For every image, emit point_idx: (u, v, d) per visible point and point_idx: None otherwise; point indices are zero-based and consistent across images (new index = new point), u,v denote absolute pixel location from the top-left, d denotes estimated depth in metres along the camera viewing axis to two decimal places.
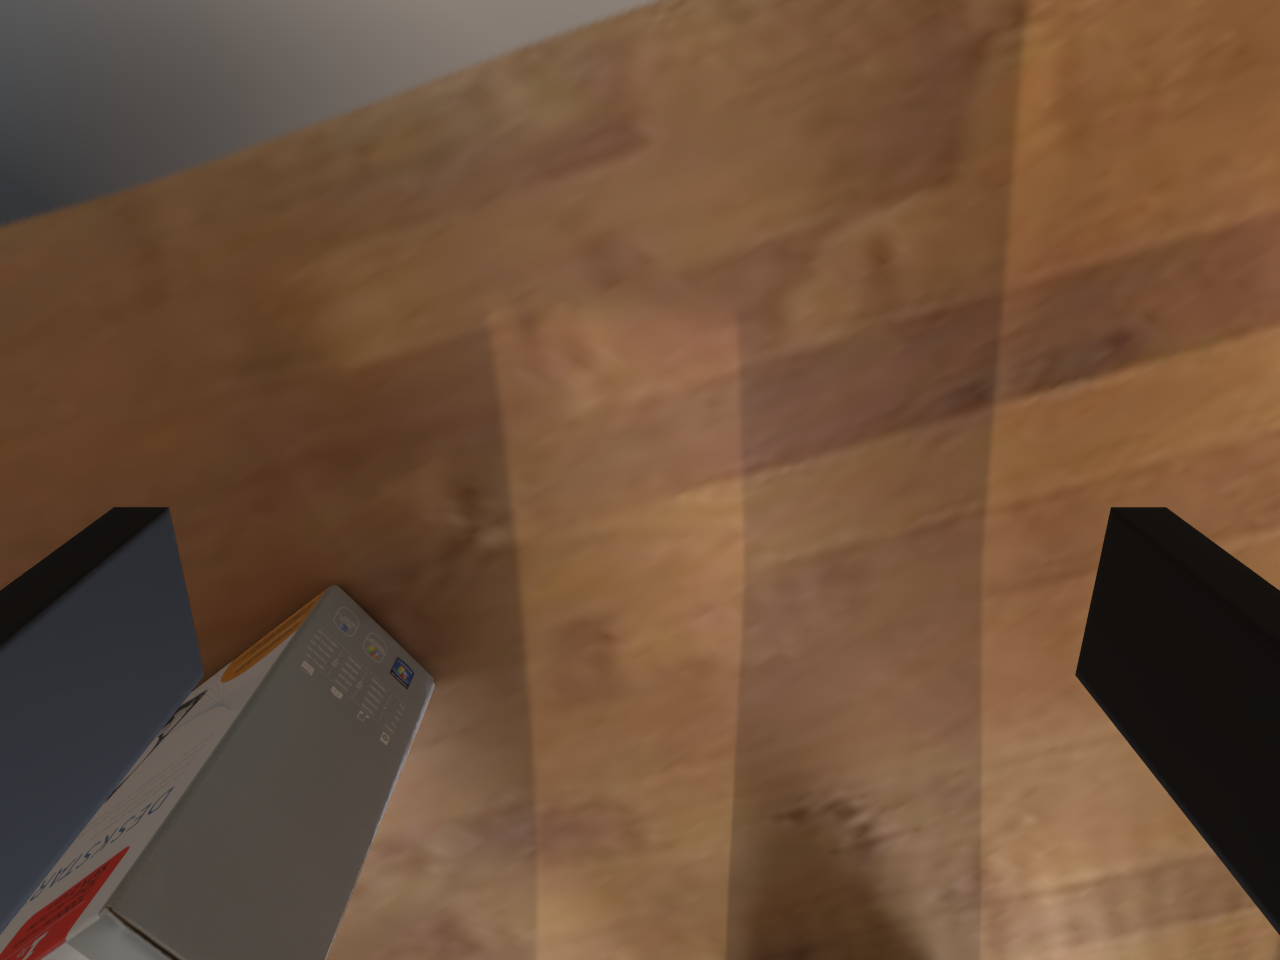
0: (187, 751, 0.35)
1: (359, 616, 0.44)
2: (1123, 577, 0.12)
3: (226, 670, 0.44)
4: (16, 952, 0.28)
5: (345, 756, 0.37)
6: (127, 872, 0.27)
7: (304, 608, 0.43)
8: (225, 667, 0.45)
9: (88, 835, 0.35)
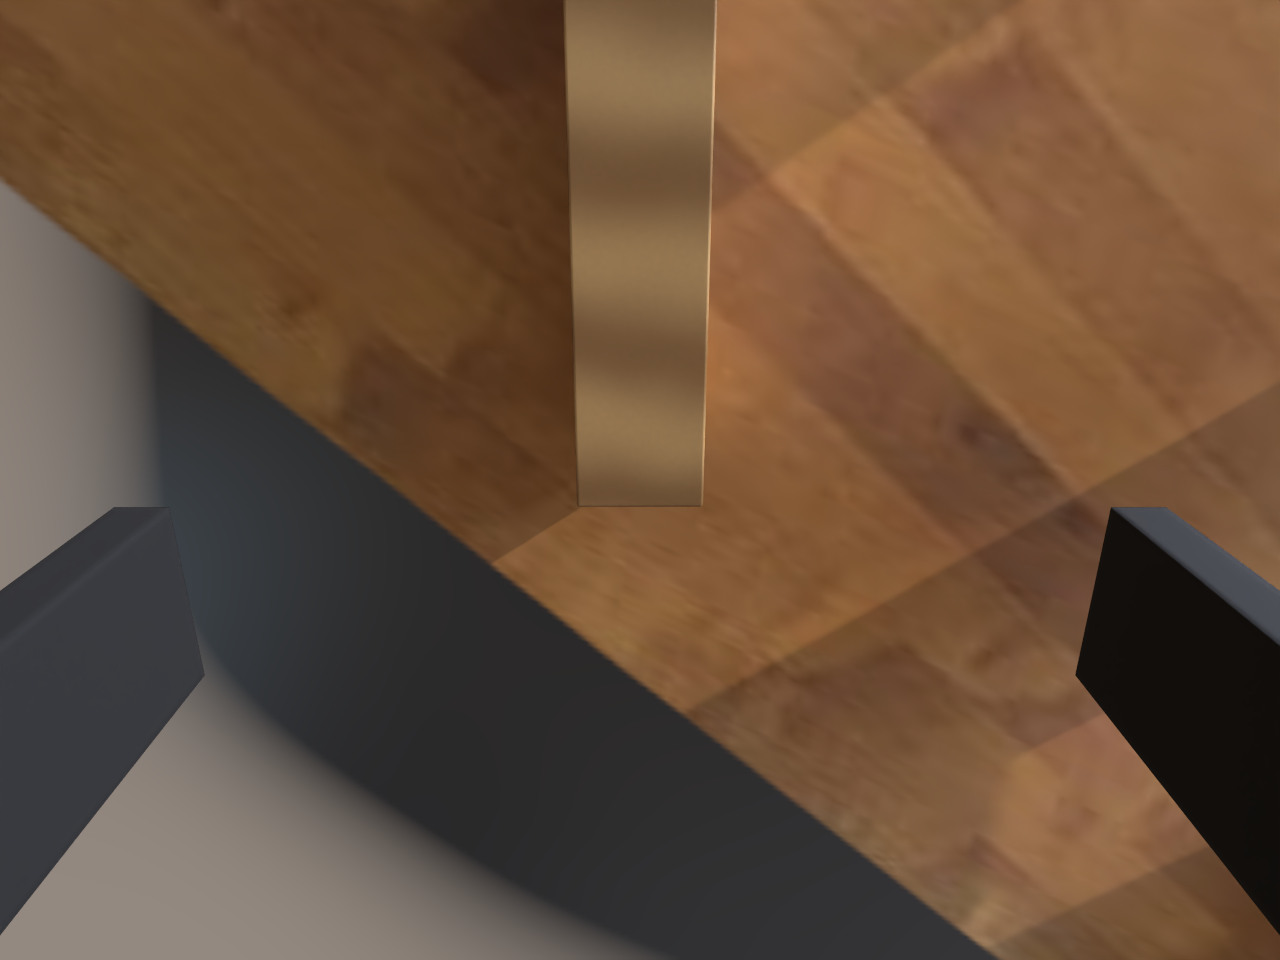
0: None
1: None
2: (1123, 577, 0.12)
3: None
4: None
5: None
6: None
7: None
8: None
9: None
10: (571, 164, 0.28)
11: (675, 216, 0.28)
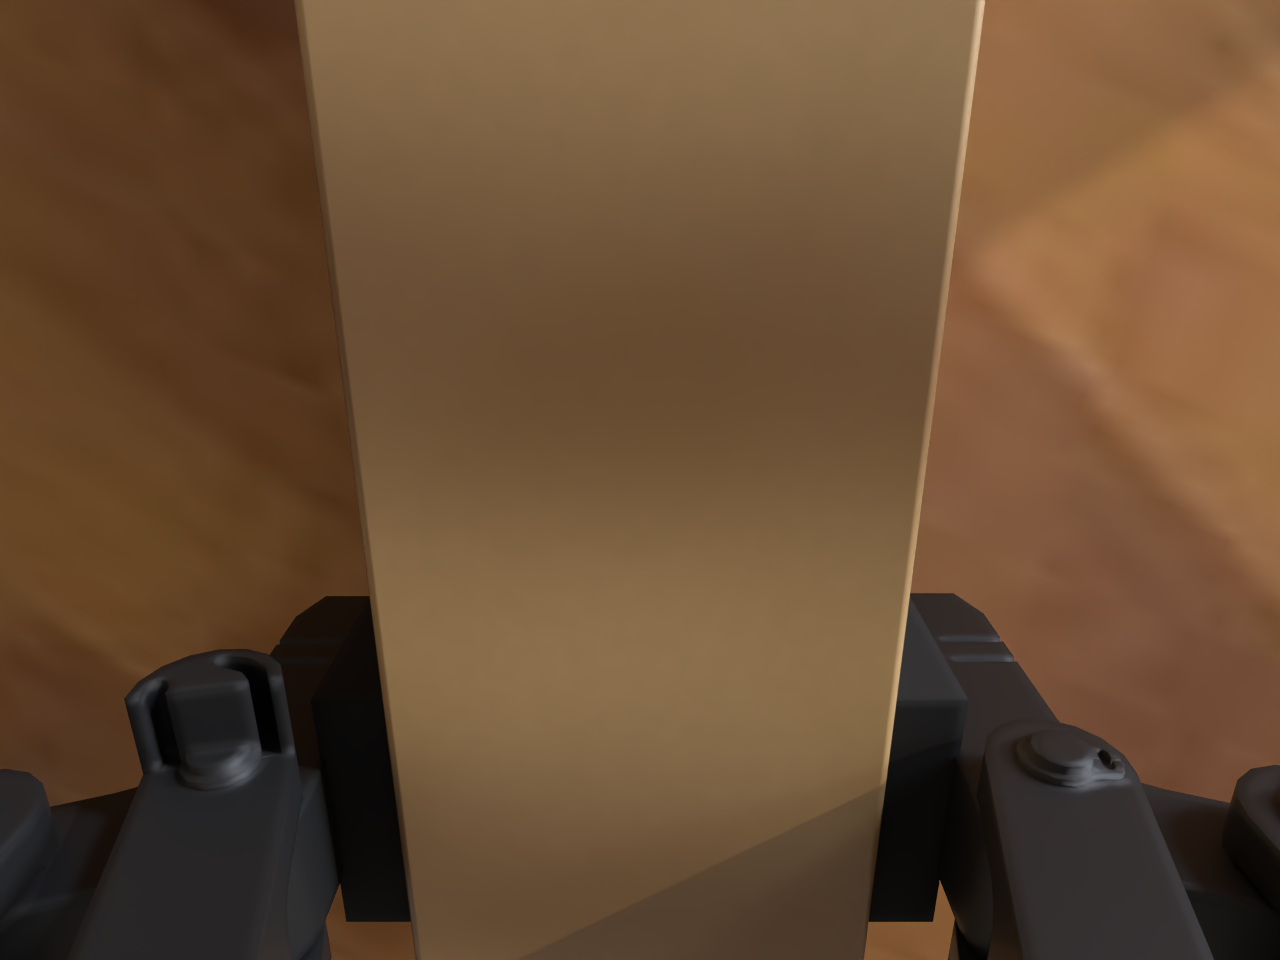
0: None
1: None
2: None
3: None
4: None
5: None
6: None
7: None
8: None
9: None
10: (346, 305, 0.06)
11: (783, 504, 0.07)
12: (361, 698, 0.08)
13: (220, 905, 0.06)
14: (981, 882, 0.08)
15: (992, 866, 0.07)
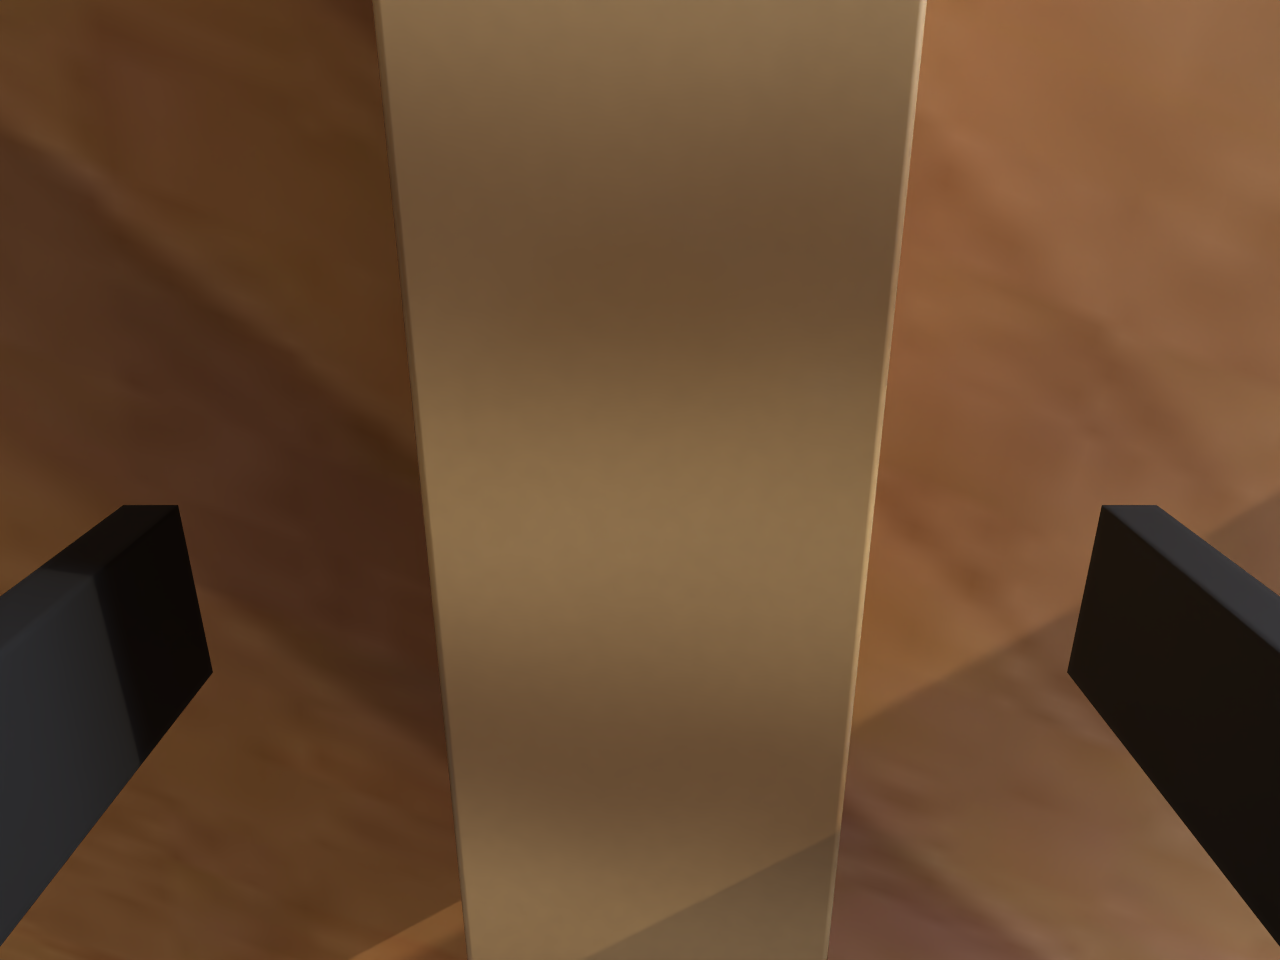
0: None
1: None
2: (1114, 575, 0.12)
3: None
4: None
5: None
6: None
7: None
8: None
9: None
10: (405, 214, 0.08)
11: (768, 387, 0.08)
12: None
13: None
14: None
15: None
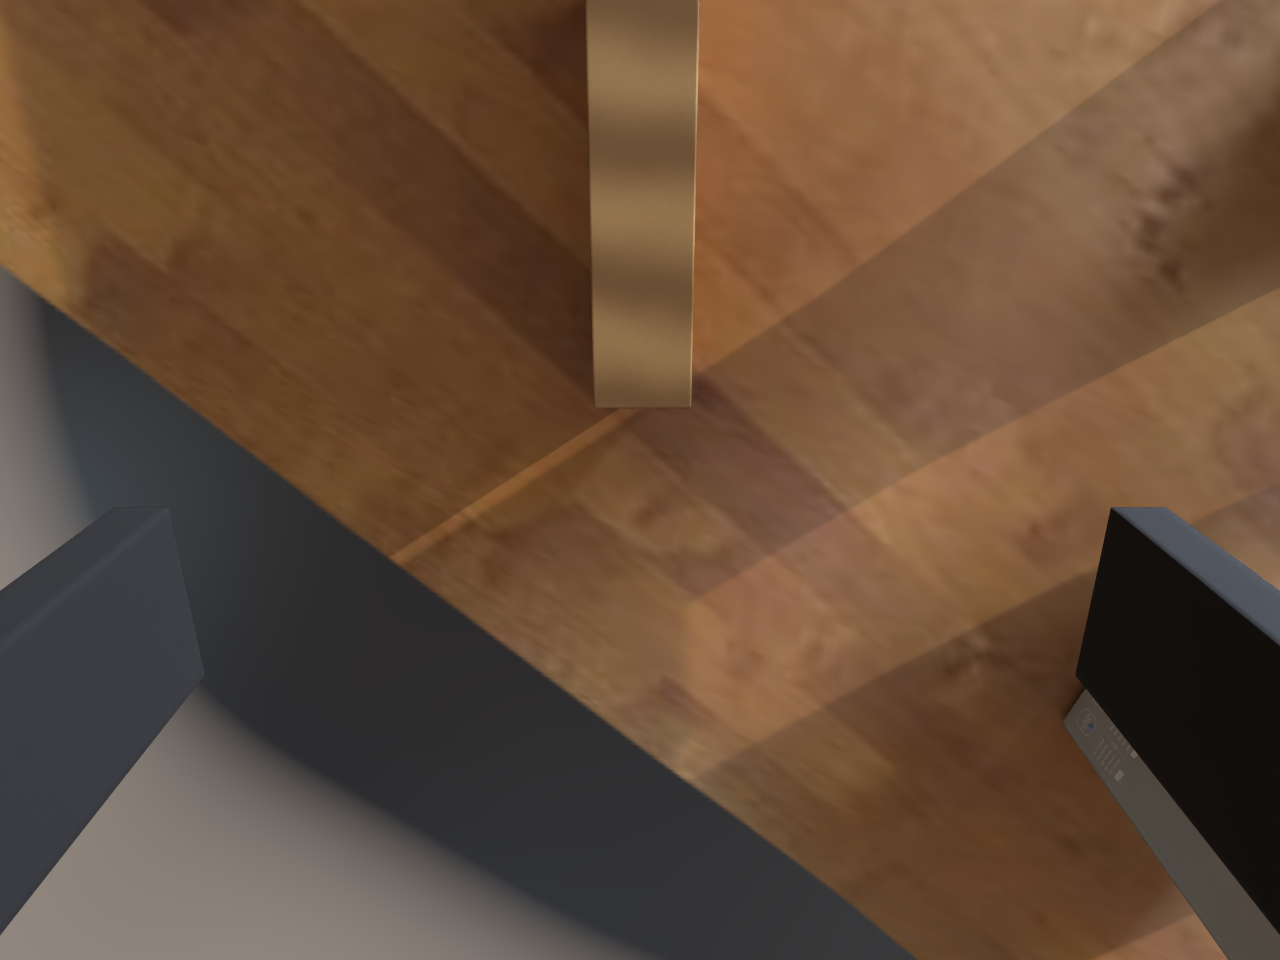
0: None
1: (1082, 706, 0.55)
2: (1123, 577, 0.12)
3: None
4: None
5: None
6: None
7: None
8: None
9: None
10: (591, 140, 0.37)
11: (669, 180, 0.38)
12: None
13: None
14: None
15: None
